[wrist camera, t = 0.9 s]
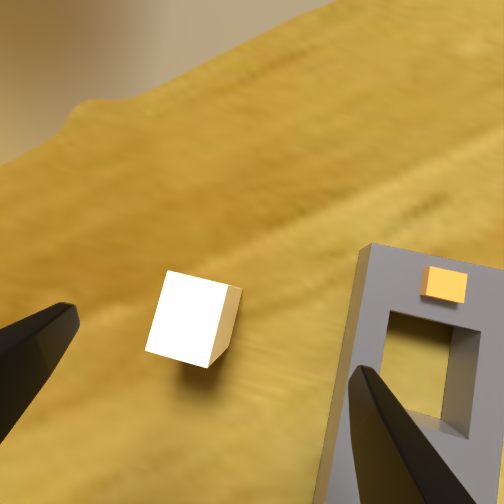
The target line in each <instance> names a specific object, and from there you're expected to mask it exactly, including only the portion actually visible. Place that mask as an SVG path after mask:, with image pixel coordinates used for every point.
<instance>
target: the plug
mask: <svg viewBox="0 0 504 504" xmlns="http://www.w3.org/2000/svg"><path fill="white" fill-rule="evenodd" d="M242 290H243V288H239V287H235V286H231V285H227V284H223V283H219V282H215V281H211V280H206V279H202V278H198V277H194V276H189V275H185V274H181V273H176V272H172V271H167V275H166V278H165V282H164V285H163V289H162V292H161V296H160V299H159V303H158V306H157V310H156V313H155V317H154V320H153V324H152V327H151V331H150V334H149V338H148V342H147V345H146V349H145V351H149V352H152V353H156V354H159V355H162V356H166V357H169V358H173V359H176V360H180V361H183V362H187V363H190V364H194V365H197V366H201V367H204V368H208V367H209V366H210V365H211V364H212V363H213V362H214V361H215V360H216V359H217V358H218V357H219V356H220V355H221V354H222V353H223V352H224V351H225V350H226V349H227V348H228V347H229V343H230V339H231V335H232V331H233V327H234V323H235V319H236V315H237V311H238V306H239V302H240V298H241V294H242Z"/></svg>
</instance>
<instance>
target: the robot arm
mask: <svg viewBox="0 0 504 504" xmlns="http://www.w3.org/2000/svg"><path fill="white" fill-rule="evenodd" d="M79 326H80V320H79V316H78V312H77V308H76V306H75V305H74V304H71V303H66V302H59V303H57V304H55V305H52V306H50V307H48V308H46V309H44V310H41V311H39V312H37V313H35V314H33V315H30V316H28V317H26V318H24V319H22V320H19V321H17V322H15V323H13V324H11V325H8V326H6V327H4V328H2V329H0V444H1V443H2V441H3V440H4V439H5V437H6V436H7V435H8V433H9V432H10V430H11V429H12V428H13V426H14V425H15V424H16V422H17V421H18V420H19V418H20V417H21V415H22V414H23V413H24V411H25V410H26V409H27V407H28V406H29V405H30V403H31V402H32V400H33V399H34V398H35V396H36V395H37V394H38V392H39V391H40V390H41V388H42V387H43V385H44V384H45V383H46V381H47V380H48V378H49V377H50V376H51V374H52V373H53V371H54V369H55V368H56V366H57V364H58V363H59V361H60V359H61V358H62V356H63V354H64V353H65V351H66V349H67V348H68V346H69V344H70V343H71V341H72V339H73V338H74V336H75V334H76V333H77V331H78V329H79ZM348 401H349V421H350V437H351V446H352V453H353V459H354V466H355V472H356V479H357V485H358V492H359V498H360V504H477V503H476V502H475V500H474V499H473V498H472V496H471V495H470V494H469V493H468V491H467V490H466V489H465V487H464V486H463V485H462V483H461V482H460V481H459V479H458V478H457V477H456V476H455V474H454V473H453V472H452V470H451V469H450V468H449V466H448V465H447V464H446V462H445V461H444V460H443V459H442V457H441V456H440V455H439V453H438V452H437V451H436V449H435V448H434V447H433V445H432V444H431V443H430V442H429V440H428V439H427V438H426V436H425V435H424V434H423V432H422V431H421V430H420V428H419V427H418V426H417V425H416V423H415V422H414V421H413V419H412V418H411V417H410V415H409V414H408V413H407V411H406V410H405V409H404V408H403V406H402V405H401V404H400V402H399V401H398V400H397V398H396V397H395V396H394V394H393V393H392V392H391V390H390V389H389V388H388V387H387V385H386V384H385V383H384V381H383V380H382V379H381V377H380V376H379V375H378V373H377V372H376V371H375V370H374V369H373V368H372V367H370V366H365V365H358V366H357V367H356V369H355V370H354V372H353V374H352V375H351V377H350V379H349V381H348Z"/></svg>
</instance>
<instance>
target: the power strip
mask: <svg viewBox="0 0 504 504" xmlns="http://www.w3.org/2000/svg"><path fill="white" fill-rule="evenodd" d="M390 312H395V313H399V314H403V315H407V316H411V317H416V318H420V319H424V320H428V321H432V322H437V323H441V324H445V325H449V326H453V331H452V339H451V346H450V354H449V361H448V369H447V376H446V384H445V392H444V399H443V407H442V414H441V419H438V418H435V417H431V416H428V415H424V414H421V413H417V412H413V411H410V410H406V409H405V410H406V411H407V413H408V414H409V415H410V417H411V418H412V419H413V421H414V422H415V423H416V425H417V426H418V427H419V428H420V430H421V431H422V432H423V434H424V435H425V436H426V438H427V439H428V440H429V442H430V443H431V444H432V445H433V447H434V448H435V449H436V451H437V452H438V453H439V455H440V456H441V457H442V459H443V460H444V461H445V462H446V464H447V465H448V466H449V468H450V469H451V470H452V472H453V473H454V474H455V476H456V477H457V478H458V479H459V481H460V482H461V483H462V485H463V486H464V487H465V489H466V490H467V491H468V493H469V494H470V495H471V496H472V498H473V499H474V500H475V502H476V503H477V504H497V496H498V486H499V476H500V466H501V456H502V447H503V437H504V270H501V269H496V268H491V267H486V266H481V265H476V264H472V263H467V262H462V261H457V260H452V259H447V258H443V257H438V256H433V255H428V254H423V253H419V252H414V251H409V250H404V249H399V248H394V247H390V246H385V245H380V244H375V243H371V244H369V245H368V246H366V247H364V248H362V249H361V250H360V253H359V258H358V264H357V269H356V274H355V280H354V285H353V290H352V296H351V301H350V306H349V312H348V317H347V323H346V328H345V333H344V339H343V344H342V349H341V355H340V360H339V365H338V371H337V376H336V381H335V387H334V392H333V397H332V403H331V408H330V413H329V419H328V424H327V430H326V435H325V440H324V446H323V451H322V456H321V462H320V467H319V472H318V478H317V483H316V488H315V494H314V499H313V504H360V498H359V492H358V485H357V479H356V472H355V466H354V459H353V453H352V446H351V437H350V421H349V401H348V381H349V379H350V377H351V375H352V374H353V372H354V370H355V369H356V367H357V366H358V365H365V366H370V367H372V368H373V369H374V370H375V371H376V372H377V373H378V375H379V374H380V368H381V362H382V355H383V349H384V343H385V337H386V331H387V325H388V319H389V313H390Z"/></svg>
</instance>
